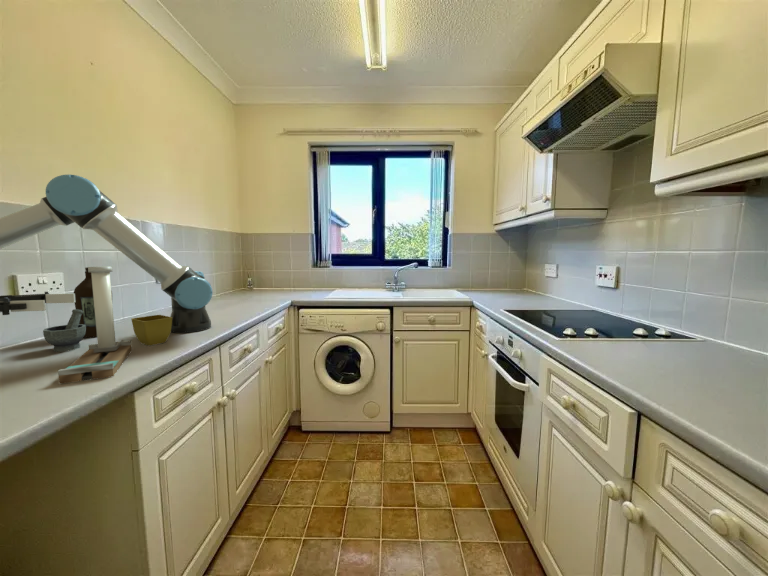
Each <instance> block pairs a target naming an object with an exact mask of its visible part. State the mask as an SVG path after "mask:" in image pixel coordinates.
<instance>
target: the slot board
mask: <svg viewBox="0 0 768 576" xmlns="http://www.w3.org/2000/svg"><path fill="white" fill-rule="evenodd" d="M116 343H120V347H119V348H118V349H117V350H116V351H106V352H97V353H94V350H93V349H94V348H96V347H97V346H98V343H92V344H88V349H87V350H86V351H85V352H84V353H82V354H81V356H79V357H78V358H77V359H76V360H74V361H73V363H71V364H70V365H68V366H67V367H65V368H60V369H59V370H57V375H58V376H57V377H58V384H59V385H62V384H68V383H69V384H70V383H77V382H84V381H89V380H90V379H91V380H97V378H98V379H104V378H105V377H106V378H112V377H111V376H113V377H115V375H116V374H115V373H118V371H119V369H120V368H121V367H120V366H122V365H123V364H124V362H125V361H126V360H127V358H128V357H129V355H130V354H131V353H132V351H133V345H132V340H122V341H116ZM130 352H131V353H130ZM127 356H128V357H127ZM125 359H126V360H125ZM122 363H123V364H122ZM117 370H118V371H117ZM114 374H115V375H114Z"/></svg>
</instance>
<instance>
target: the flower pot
mask: <svg viewBox="0 0 768 576" xmlns="http://www.w3.org/2000/svg"><path fill="white" fill-rule="evenodd" d="M131 323H132V328H133V332H134V335H135V337H136V338H137V340H138V342H140V344H141V345H145V346H149V347H151V346H155V345H159V344H164V343H166V342H167V341H168V339H169V337H170V335H171V333H172V332H171V326H172V317H170V316H168V315H164V314H153V315H148V316H140V317H133V318H131Z"/></svg>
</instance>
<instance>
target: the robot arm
mask: <svg viewBox="0 0 768 576" xmlns="http://www.w3.org/2000/svg"><path fill="white" fill-rule="evenodd" d="M72 224H76V225H77V226H79V227H80V228H81V229H83V230H90V231H94V232H95V233H96V234H98V235H99V236H100V237H101V238H103V239H104V240H105V241H107V242H108V243H109V244H111V246H113V247H114V248H115V249H116V250H118V251H120V252H121V253H122V254H123V255H125V256H126V257H127V258H129V259H130V260H131V261H132V262H133V263H135V264H136V265H137V266H138V267H140V268H141V269H142V270H144V272H146V273H148V274H149V275H150V276H151V277H152V278H154V279H155V280H156V281H158V282H159V283H160V286H161V288H160V289H161V290H162V291H163V293H165V294H167V295H168V296H169V297H171V298H170V299H171V301H170V302H171V314H170V316H169V317H172V326H171V332H170V333H181V334H182V333H192V332H193V333H194V332H200V331H205V330H209V329H210V328H212V321H211V318H210V315H209V313H208V311H207V309H206V305H208V304H209V303H210V302H211V300H212V299H213V293H214V291H213V287H212V286H211V283H210V282H209V281H208V280H207V279H205V278H206V277H205V275H204V272H203V271H199V270H198V271H197V270H193V269H192V268H191V267H190V266H188V265H187V266H185V265H181V264H179V263H178V262H177V261H176V260H175V259H173V258H172V257H171V256H170V255H169V254H168V253H166V252H165V250H163V249H162V248H161V247H159V246H158V245H157V244H155V243H154V242H153V241H152V239H150V238H148V237H147V236H146V235H145V234H144V233H143V232H141V231H140V230H139V229H138V228H137V227H136V226H135V225H133V224H132V223H131V222H130V221H128V220H127V219H126V218H125V217H124V216H122V215H121V214H120V213H119V212H118V205H117V204H116V203H115V202H114V201H113V200H111V198H109V197H108V196H107V195H105V193H104V192H102V191H101V190H100V189H99V188H98V187H97V185H96V184H95V183H94V182H92V181H91V180H89V179H88V178H87V177H84V176H80V175H77V174H76V175H75V174H69V173H68V174H60V175H57V176H55V177H53V178H52V179H51V180H49V181H48V183H47V184H46V186H45V197H44V196H43V197H42V198H40V202H39V203H35V204H34V205H31V206H29V207H26V208H23V209H21V210H18V211H14V212H13V213H10V214H7V215H4V216H2V217H0V250H1V249H3V248H6V247H9V246H11V245H13V244H16V243H18V242H20V241H23V240H26V239H28V238H30V237H33V236H35V235H36V236H37V235H38V234H41V233H43V232H46V231H49V230H50V229H53V228H55V227H58V226H64V227H65V226H66V227H67V226H69V225H72ZM75 302H76V301H75V293H74V292H73V293H49V291H44V293H35V294H18V295H17V294H16V295H15V294H14V295H13V294H7V295H0V313H2V316H9V315H10V312H11V313H16V312H17V313H19V312H20V313H21V312H40V311H41V312H43V311H46V310H47V308H46V304H68V303H69V304H72V303H73V304H75Z"/></svg>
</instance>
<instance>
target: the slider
mask: <svg viewBox="0 0 768 576" xmlns="http://www.w3.org/2000/svg"><path fill="white" fill-rule="evenodd" d="M87 267H88V272H91V275H92V286H93V297H94V308H95V319H96V331H97V337H96V340H97V342H96V343H97V344H98V346H97V347H96V348H94V349H93V350H94V353H97V352H106V351H116V350H117V349H118V348H119V347H120V343H116V342H117V341H116V331H115V320H114V319H115V318H114V308H113V307H114V306H113V292H112V293H111V291H112V284H111V283H112V282H111V281H112V280H111V272H113V266H103V265H102V266H87Z"/></svg>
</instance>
